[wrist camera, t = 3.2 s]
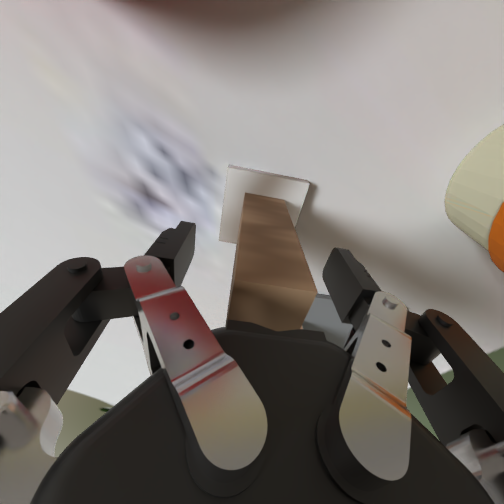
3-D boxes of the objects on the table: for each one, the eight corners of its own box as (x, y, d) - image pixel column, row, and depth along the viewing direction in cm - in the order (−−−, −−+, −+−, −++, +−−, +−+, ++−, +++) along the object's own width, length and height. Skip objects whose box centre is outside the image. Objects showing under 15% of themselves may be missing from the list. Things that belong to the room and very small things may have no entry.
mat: (405, 306, 23) (408, 311, 23) (344, 380, 32) (346, 384, 31) (263, 285, 22) (263, 289, 21) (239, 368, 30) (239, 373, 30)
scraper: (306, 180, 16) (377, 265, 7) (285, 246, 19) (314, 365, 10) (228, 164, 16) (192, 234, 6) (220, 235, 19) (187, 350, 10)
